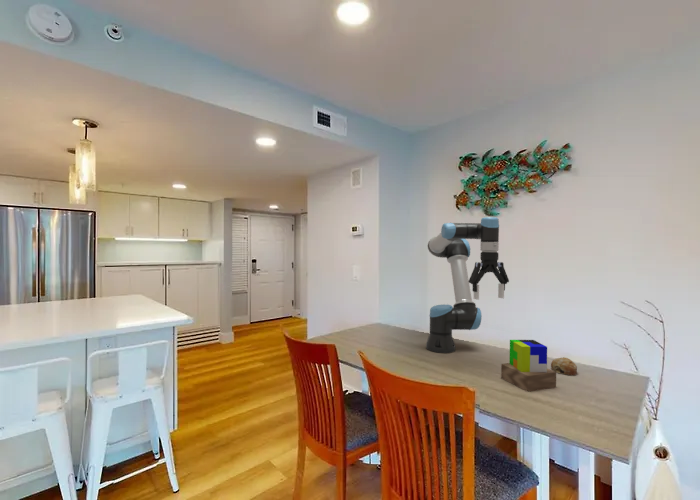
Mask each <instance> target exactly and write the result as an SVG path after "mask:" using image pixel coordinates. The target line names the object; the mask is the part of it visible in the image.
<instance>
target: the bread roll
mask: <svg viewBox="0 0 700 500" xmlns="http://www.w3.org/2000/svg"><path fill="white" fill-rule="evenodd" d="M550 368H551V370H552V371H555V372H556V374H560V375H565V376H566V375H567V376H576V375H577V372H578V366H577V364H576V363H575V362H574V361H573V360H571V359H570V358H568V357H565V356H564V357H558V358H554V359H553V360H552V361H551V363H550Z"/></svg>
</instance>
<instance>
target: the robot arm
mask: <svg viewBox="0 0 700 500" xmlns="http://www.w3.org/2000/svg"><path fill="white" fill-rule="evenodd" d="M499 223H500V221H499V218H498V217H495V216H494V217H493V216H486V217H485V216H484V217H482V218H481V219H480V223H479V222H477V223H475V222H472V223H471V222H470V223H469V222H467V223H466V222H465V223H463V222H461V223H460V222H444V223H443V224H442V225H441V229H440V231H441V232H440V233H439V234H437V236H433V237H432V238H430V239H429V241H428V243H427V250H428V252H429V253H430V254H431V255H432V256H434V257H436V258H441V259H442V258H446V261H447V262H448V263H449V264H450V270H451V271H450V272H451V276H452V285H453V292H454V299H455V302H454V304H453V306H452V304H445V303H444V304H438V305H437V304H435V305H434V306H431V307H430V309H429V315H428V316H429V335H428V337H427V340H426V343H425V348H426V349H427V350H428V351H430V352H434V353H441V354H447V353H453V352H455V351H456V344H455V340H454V338H453V331H455V330H457V331H458V330H460V331H461V330H462V331H463V330H464V331H465V330H467V331H472V330H475V331H476V330H477V329H479V327H480V326H481V323H482V310H481V308H480V307H477V304H476V303H475V301H474V300H478V301H479V300H480V284H479V283H480V281H481V280H482V278H483V277H484V276H485V274H486V273H493V276H495V277H496V278H497V280H498V282H499V283H498V284H497V285H498V287H497V291H498V293H497V294H498V295H497V296H498V297H497V298H498V299H504V298H505V290H506V285H507V284H508V283H509V282H510V279H509V277H508V274H507V272H506V269H505V267H504V262H502V261H499V252H498V251H499V245H500V243H499V239H500V238H499V237H500V236H499V233H500V224H499ZM468 240H480V251H481V252H480V256H479V257H480V260H481V261H480V262H478V261H475V263H474V268H473V270H472V271H471V274H470V277H469V274H468V268H467V263H466V262H467V260H468V258H469V257H470V256H471V245H470V243H469V241H468ZM470 284H471V285H472V292H473V299H474V300H472V293H471V286H470Z"/></svg>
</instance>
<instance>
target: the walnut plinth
mask: <svg viewBox="0 0 700 500" xmlns="http://www.w3.org/2000/svg"><path fill="white" fill-rule="evenodd" d="M500 366H501V367H500V368H501V369H500V372H501V373H500V376H501V377H500V378H501V379H502V380H504V381H506V382H508V383H510V384H512V385H514V386H516V387H518V388H520V389H521V390H524V391H526V392H535V391H540V390H548V389H554V388H556V387H557V373H556V372H555V371H553V370H552V369H549V368H547V372H521V371H519V370H518V369H517V368H515V367H514V366H512V365H511V364H510V363H509V362H505V363H501V364H500Z"/></svg>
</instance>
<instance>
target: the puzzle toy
mask: <svg viewBox="0 0 700 500" xmlns="http://www.w3.org/2000/svg"><path fill="white" fill-rule="evenodd" d="M508 363H510V364H511V365H512V366H514V367H515V368H517V369H518V370H519V371H521V372H547V369H548V346H547V345H544V344H543V343H540V342H539V341H536V340H535V339H509V362H508Z"/></svg>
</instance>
